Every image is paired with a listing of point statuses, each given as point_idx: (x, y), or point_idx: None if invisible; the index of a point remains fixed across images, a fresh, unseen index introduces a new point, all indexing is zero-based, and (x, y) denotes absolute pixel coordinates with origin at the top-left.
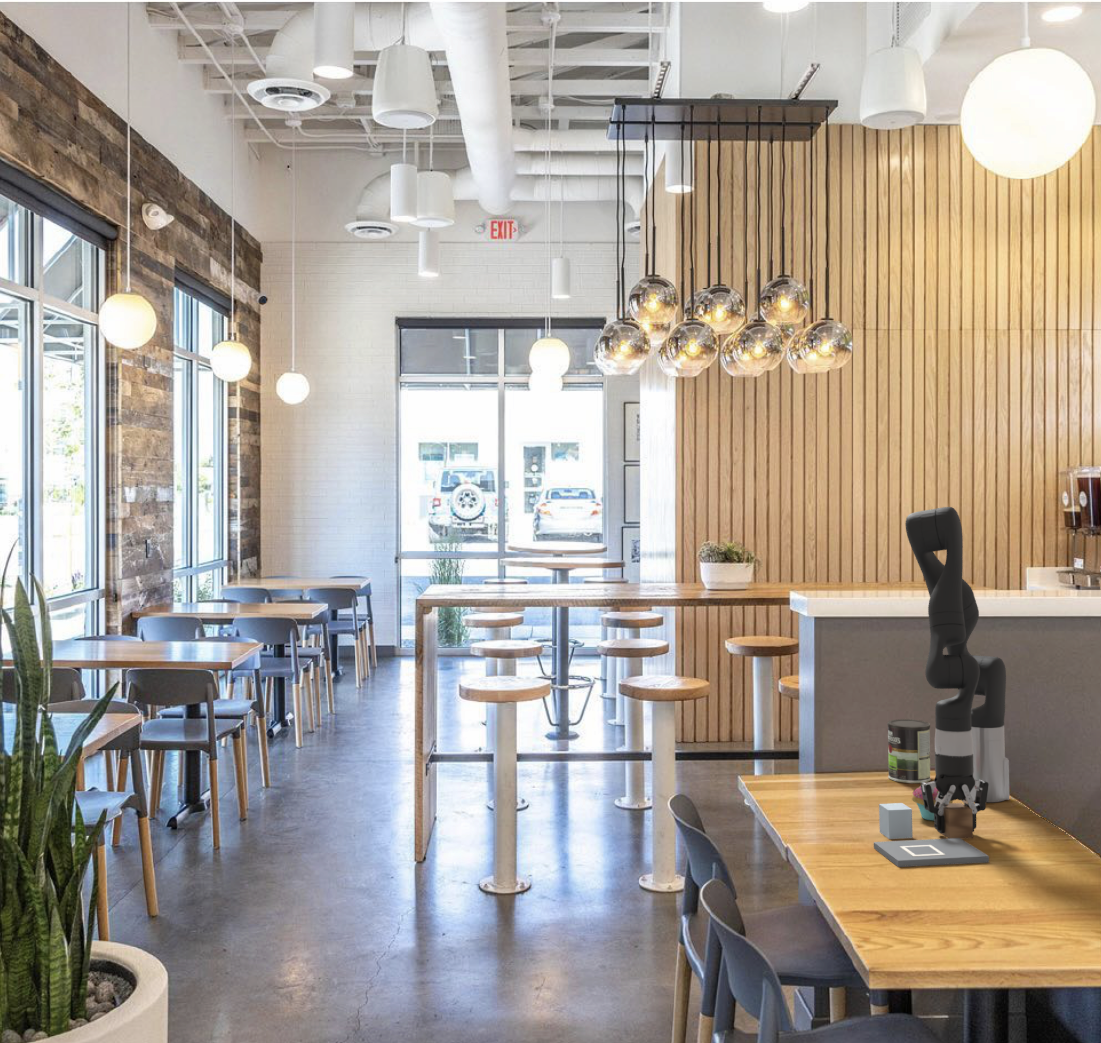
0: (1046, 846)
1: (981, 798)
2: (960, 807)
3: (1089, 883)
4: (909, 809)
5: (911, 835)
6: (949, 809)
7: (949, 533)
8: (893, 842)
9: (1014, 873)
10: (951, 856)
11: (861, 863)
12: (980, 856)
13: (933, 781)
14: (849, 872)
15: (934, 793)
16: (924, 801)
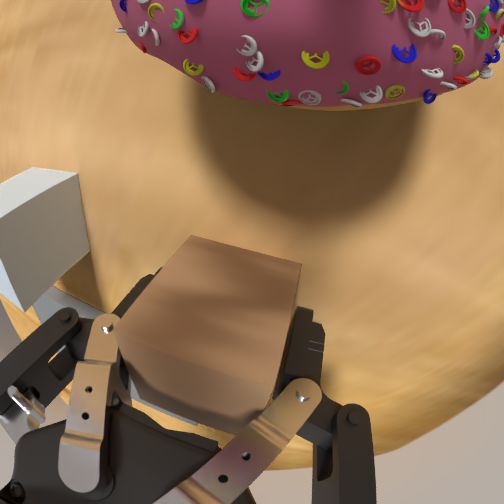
0: (393, 421)
1: (313, 483)
2: (209, 413)
3: (283, 468)
4: (19, 308)
5: (82, 255)
6: (144, 398)
7: None
8: (45, 300)
9: (214, 438)
10: (131, 395)
11: (28, 312)
12: (180, 419)
13: (17, 446)
14: (25, 324)
15: (199, 23)
16: (38, 339)
